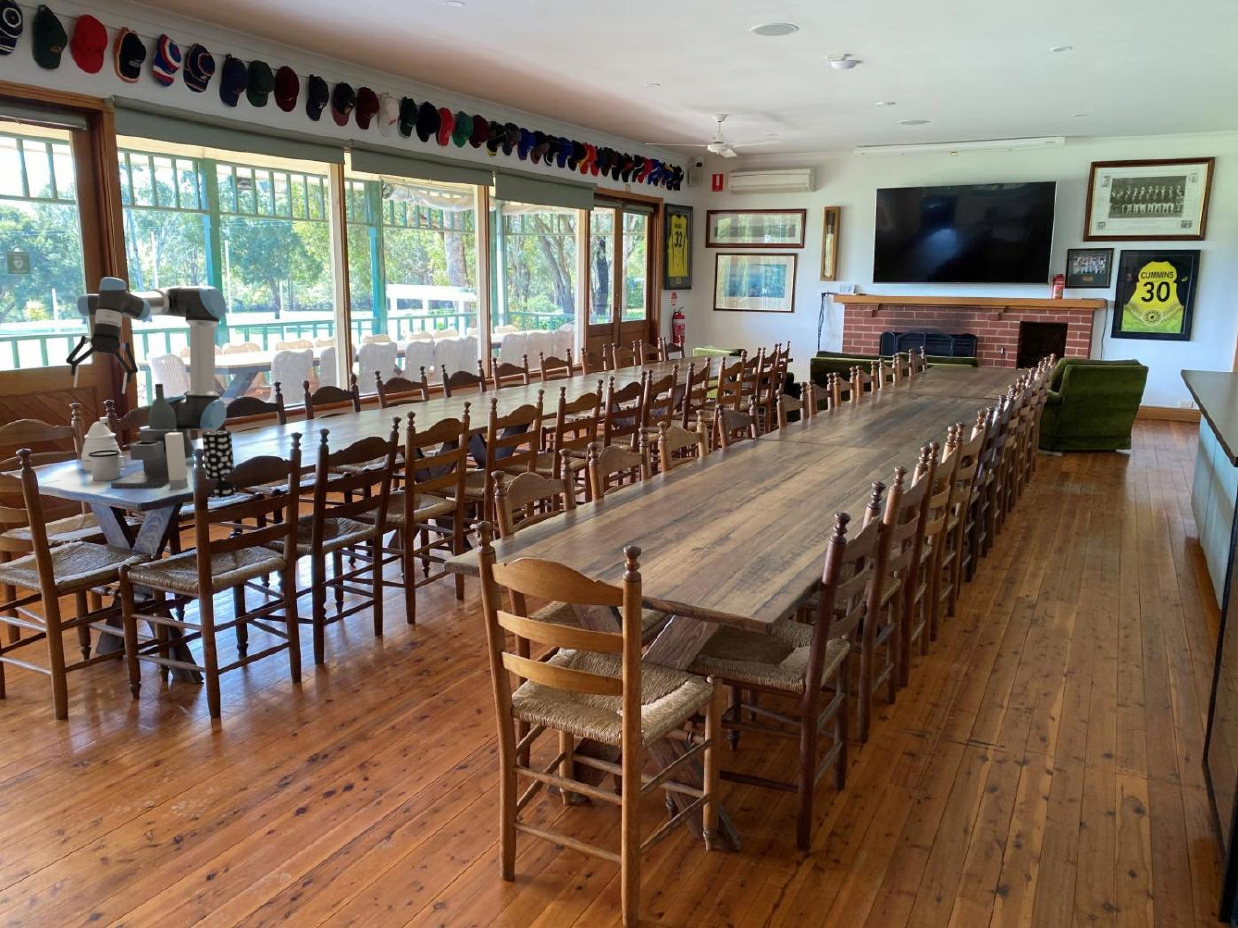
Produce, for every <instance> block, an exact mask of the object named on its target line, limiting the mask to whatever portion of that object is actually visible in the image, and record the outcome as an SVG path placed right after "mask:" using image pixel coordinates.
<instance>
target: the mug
mask: <svg viewBox="0 0 1238 928" xmlns="http://www.w3.org/2000/svg"><path fill="white" fill-rule="evenodd" d="M118 454H120V451H117V450H102V451H95V452H91V453H89V454H88V456H90V458H91V467H92V471H91V475H92V480H93V481H96V482H105V481H106V482H108V481H114V480H119V479H121V471H125V470H127V467H128V465H127V457H126V456H124V455H122V456H120V457H118ZM119 458H122V459H123V460H124V461H123V462H124V467H123V468H121V467H119Z"/></svg>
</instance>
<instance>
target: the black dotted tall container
mask: <svg viewBox="0 0 1238 928" xmlns="http://www.w3.org/2000/svg"><path fill="white" fill-rule="evenodd" d="M201 435H202V444H203V445H202V449H203V457H204V470H206V471H205V475H206V474H207V478H208V479H217V480H219V481H218V483H217V486H216V488H215V489H214V490H213V491H214V493H212V494H216V495H213V496H209V498H212V499H214V498H215V499H216V498H217V499H219V498H228V497H232V496H235V495H237V491H236V490H237V488H236V489H235V488H234V487H236V485H235V486H234V485H232V484H231V482H227V481H226V480H225V479H224V478H223V477H225V476H224V475H225V474H228V473H230V472H231V471H233V469H234V470H235V466H234V465H235V464H234V453H233V452H234V451H233V439H232V432H231V431H230V430H208V431H204V432H202V433H201ZM222 478H223V479H222Z"/></svg>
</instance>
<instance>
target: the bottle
mask: <svg viewBox="0 0 1238 928" xmlns="http://www.w3.org/2000/svg"><path fill="white" fill-rule="evenodd" d="M154 387H155V399H156V401H155V402H154V404H153V406H152V405H151V408H150V409H149V410H148V411H149V412H148V420H147V421H148V428H149V430H176V417H175V413H174V410H173V409H172V408H171V406H170V405H169V404H168V403H167V401H166V400H165V399H164V397H165V395H164V394H165V393H164V384H163V383H155V384H154Z"/></svg>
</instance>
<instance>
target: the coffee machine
mask: <svg viewBox="0 0 1238 928" xmlns="http://www.w3.org/2000/svg"><path fill="white" fill-rule="evenodd" d="M168 433H177V430H150V429H139V434H140V435H139V437H140V441H137V442H135V443H132V444H129V452H130V460H131V461H142V464H143V465H142V466H143V469H142V470H138V471H136V472H134V473H131V474H129V475H127V476H124V477H122V478H118V479H116V480H115V481H113V482H110V487H111V488H113V489H114V488H116V489H117V488H119V489H120V488H123V489H124V488H127V489H128V488H129V489H130V488H131V489H134V488H139V489H140V488H145V489H147V488H162V487H164V486H166V484H167V485H168V483H169V473H168V463H167V452H166V442H165V434H168ZM186 472H187V473H188V470H187V469H186ZM169 484H170V483H169Z"/></svg>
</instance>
